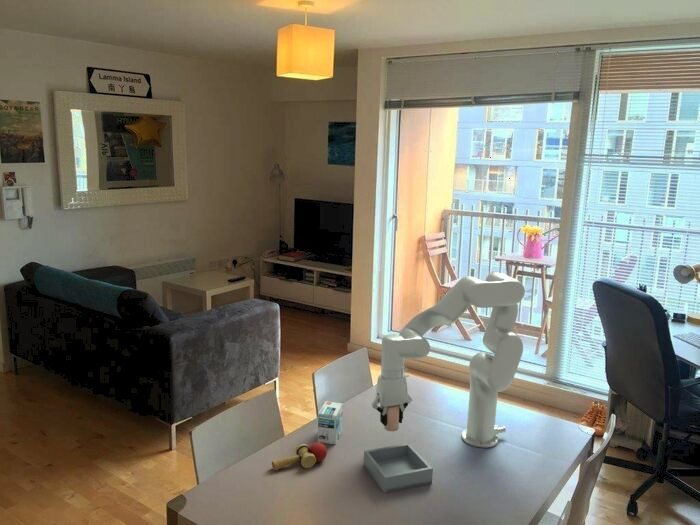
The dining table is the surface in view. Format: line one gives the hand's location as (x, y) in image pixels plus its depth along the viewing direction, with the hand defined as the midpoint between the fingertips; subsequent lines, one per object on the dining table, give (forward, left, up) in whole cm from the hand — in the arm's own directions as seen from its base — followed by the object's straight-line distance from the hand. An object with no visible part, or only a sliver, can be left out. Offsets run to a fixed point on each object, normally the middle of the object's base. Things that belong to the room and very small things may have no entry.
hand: (391, 422), depth 191 cm
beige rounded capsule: (0, 0, -2) cm, 2 cm away
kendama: (+32, 0, -10) cm, 33 cm away
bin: (+5, +15, -10) cm, 18 cm away
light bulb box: (+17, -14, -10) cm, 24 cm away
